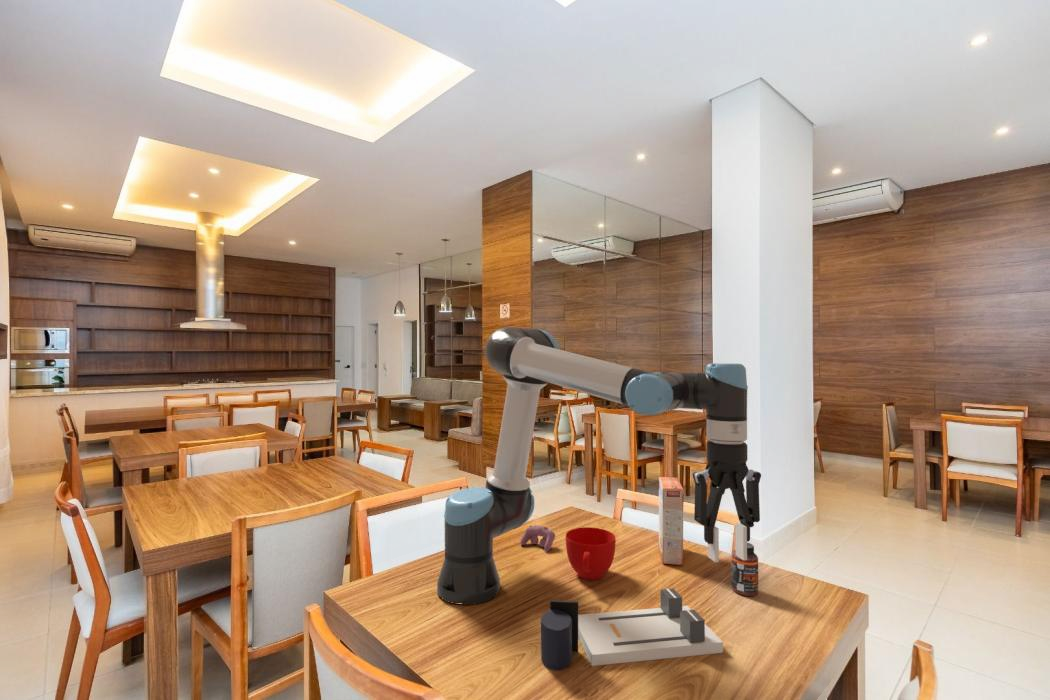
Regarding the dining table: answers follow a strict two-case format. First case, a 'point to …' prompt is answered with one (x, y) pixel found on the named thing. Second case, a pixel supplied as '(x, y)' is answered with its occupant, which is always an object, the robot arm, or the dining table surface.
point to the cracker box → (671, 520)
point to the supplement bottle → (745, 573)
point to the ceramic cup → (590, 551)
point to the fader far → (671, 602)
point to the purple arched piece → (536, 531)
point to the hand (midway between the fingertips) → (727, 558)
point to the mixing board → (639, 637)
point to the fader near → (692, 626)
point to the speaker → (559, 634)
